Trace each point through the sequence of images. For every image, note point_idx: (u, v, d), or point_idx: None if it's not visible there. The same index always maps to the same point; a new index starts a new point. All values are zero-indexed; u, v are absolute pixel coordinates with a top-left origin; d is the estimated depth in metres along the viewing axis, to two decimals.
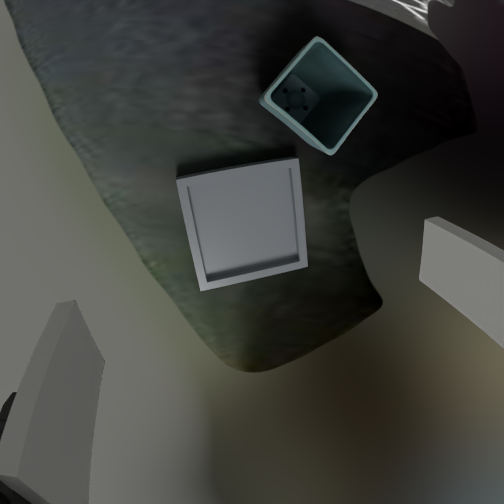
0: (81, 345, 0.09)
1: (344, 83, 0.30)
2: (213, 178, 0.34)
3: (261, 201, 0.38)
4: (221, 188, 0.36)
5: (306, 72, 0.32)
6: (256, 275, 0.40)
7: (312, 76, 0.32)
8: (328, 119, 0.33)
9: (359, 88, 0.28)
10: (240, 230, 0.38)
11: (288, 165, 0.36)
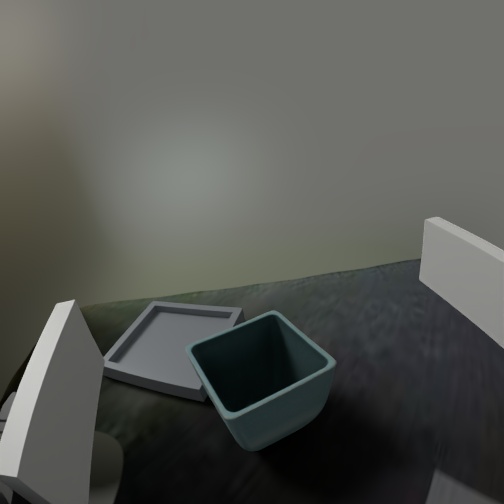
0: (81, 345, 0.09)
1: None
2: (226, 327, 0.38)
3: (181, 358, 0.35)
4: None
5: None
6: (129, 330, 0.39)
7: None
8: None
9: None
10: (171, 338, 0.38)
11: (198, 379, 0.30)
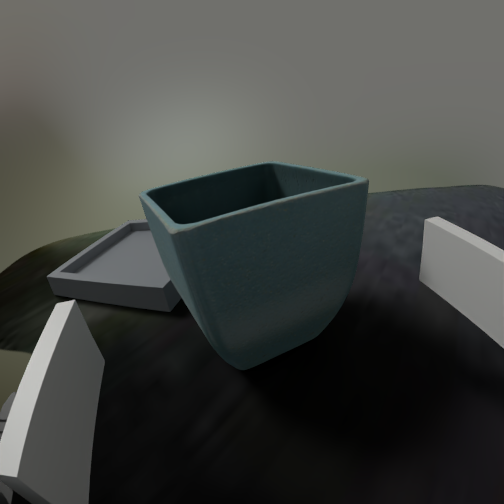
0: (81, 345, 0.09)
1: None
2: None
3: (149, 265, 0.27)
4: None
5: None
6: (93, 245, 0.31)
7: None
8: None
9: None
10: (141, 250, 0.30)
11: (164, 277, 0.22)
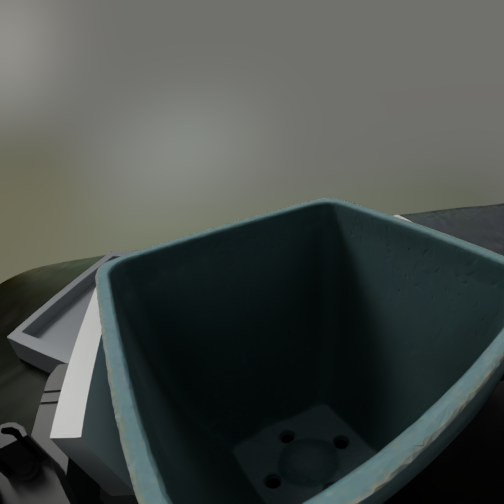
0: None
1: None
2: None
3: None
4: None
5: None
6: (65, 289, 0.23)
7: None
8: (201, 463, 0.08)
9: None
10: None
11: None
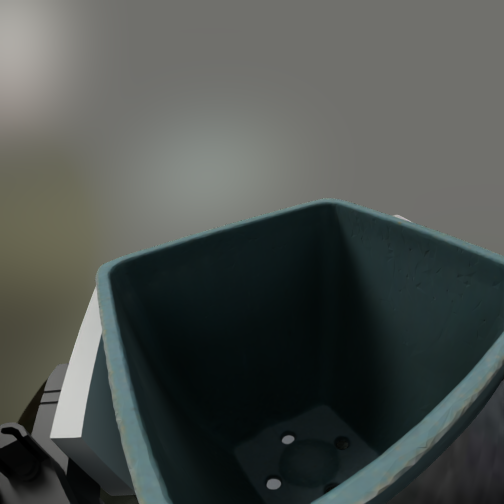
0: None
1: None
2: None
3: None
4: None
5: None
6: None
7: None
8: (202, 464, 0.08)
9: None
10: None
11: None
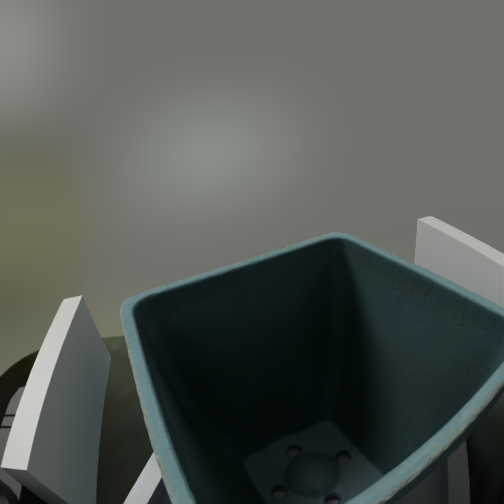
0: (88, 340, 0.09)
1: None
2: None
3: None
4: None
5: None
6: None
7: None
8: (217, 477, 0.08)
9: None
10: None
11: None
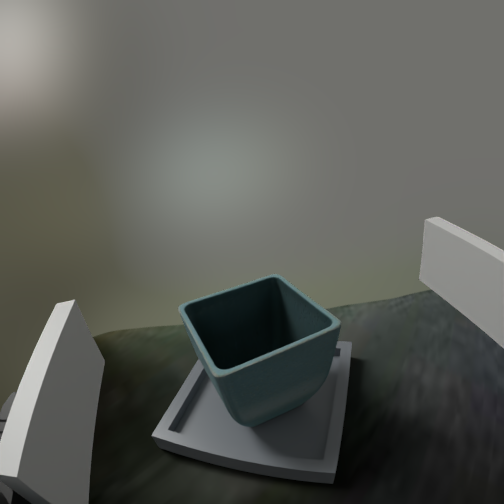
0: (81, 345, 0.09)
1: None
2: (341, 371, 0.25)
3: (284, 421, 0.23)
4: (323, 384, 0.26)
5: None
6: (190, 379, 0.27)
7: None
8: None
9: None
10: None
11: (328, 457, 0.18)
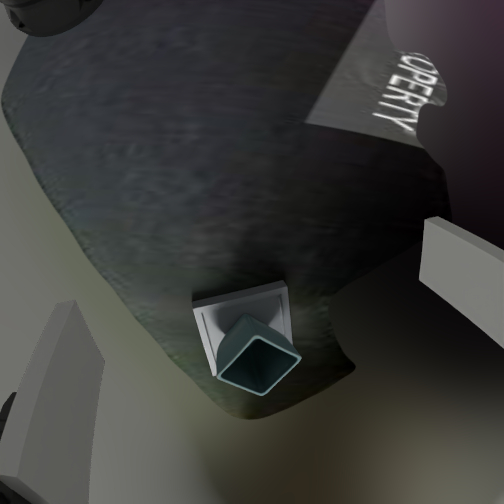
0: (81, 345, 0.09)
1: None
2: (221, 306, 0.45)
3: (258, 315, 0.49)
4: (227, 310, 0.47)
5: None
6: None
7: (259, 322, 0.47)
8: (268, 354, 0.47)
9: None
10: None
11: (279, 292, 0.47)
